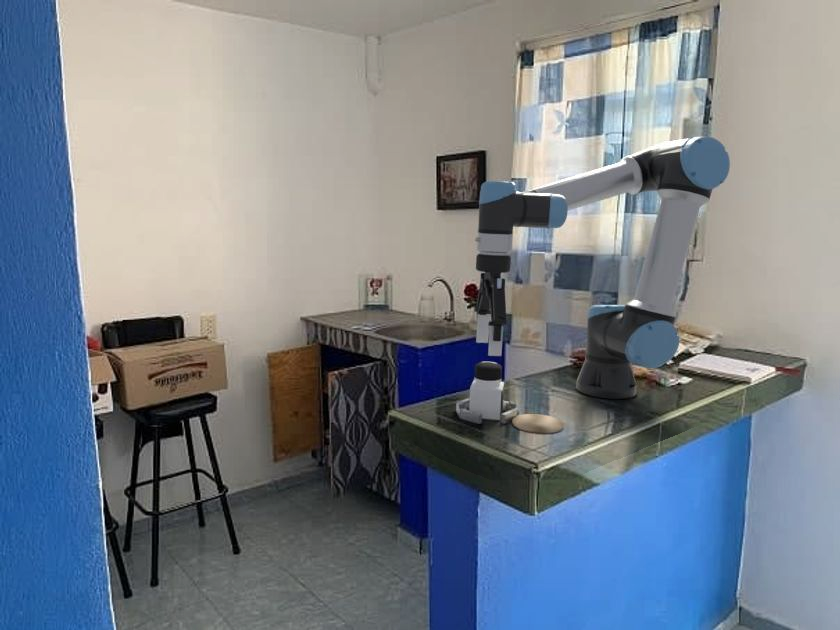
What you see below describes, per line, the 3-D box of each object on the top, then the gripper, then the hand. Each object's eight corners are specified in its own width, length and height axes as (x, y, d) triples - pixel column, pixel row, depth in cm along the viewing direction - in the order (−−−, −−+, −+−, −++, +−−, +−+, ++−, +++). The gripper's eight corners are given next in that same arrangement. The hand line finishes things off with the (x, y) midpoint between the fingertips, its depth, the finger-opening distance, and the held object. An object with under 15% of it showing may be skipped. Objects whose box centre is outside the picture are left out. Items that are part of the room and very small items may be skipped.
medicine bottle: (500, 421, 137) (503, 368, 135) (468, 418, 139) (470, 365, 137) (502, 411, 144) (505, 361, 142) (472, 408, 146) (474, 358, 144)
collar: (507, 405, 149) (507, 394, 148) (521, 423, 136) (521, 411, 136) (453, 405, 147) (453, 394, 147) (462, 423, 135) (463, 411, 134)
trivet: (554, 416, 142) (554, 413, 142) (570, 433, 131) (570, 430, 131) (507, 416, 141) (507, 414, 140) (519, 433, 130) (519, 430, 130)
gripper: (467, 249, 148) (462, 337, 151) (488, 256, 123) (482, 361, 126) (498, 250, 148) (492, 338, 152) (525, 258, 124) (518, 362, 127)
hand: (488, 348), depth 139 cm, fingers open, 13 cm apart
